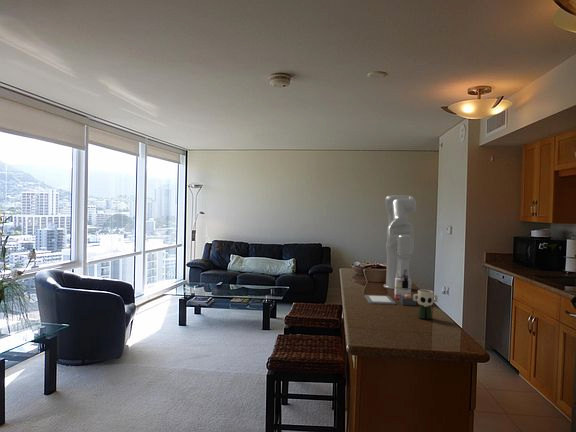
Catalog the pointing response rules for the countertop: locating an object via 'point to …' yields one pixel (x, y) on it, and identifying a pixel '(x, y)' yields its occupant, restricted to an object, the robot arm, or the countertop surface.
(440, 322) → the countertop surface
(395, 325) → the countertop surface
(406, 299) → the button housing
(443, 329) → the countertop surface
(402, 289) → the ink cartridge box
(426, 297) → the character mug
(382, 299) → the drawing board
